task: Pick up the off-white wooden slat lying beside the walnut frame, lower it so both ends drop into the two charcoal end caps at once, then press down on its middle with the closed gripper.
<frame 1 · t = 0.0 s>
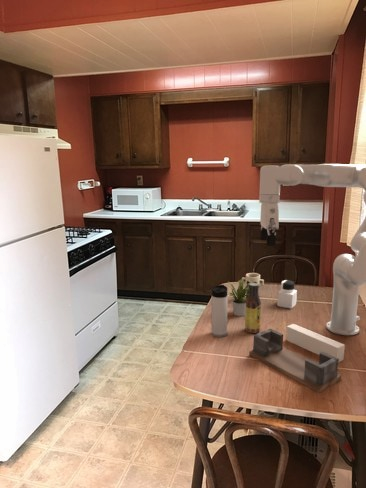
hand: (267, 242, 153), 37 cm above the table, tool pointing down, fingers open, 9 cm apart
sauce bottle: (252, 330, 162), on the table
end cap frame: (292, 366, 135), on the table
character mug: (252, 300, 196), on the table
house plant: (242, 315, 178), on the table
medicine bottle: (286, 305, 189), on the table
travel mug: (219, 334, 160), on the table
slat: (313, 349, 146), on the table
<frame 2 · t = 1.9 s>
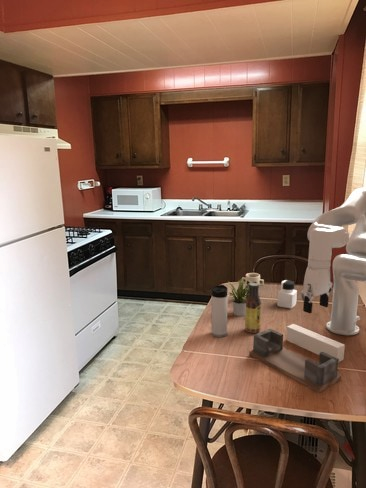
hand: (315, 309, 142), 16 cm above the table, tool pointing down, fingers open, 9 cm apart
nothing on the table moved.
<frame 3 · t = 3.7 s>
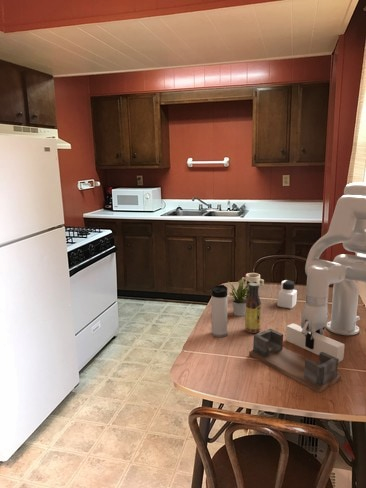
hand: (313, 345, 146), 2 cm above the table, tool pointing down, fingers closed on slat, 4 cm apart
slat: (313, 349, 146), on the table, touching gripper
everything else where it was.
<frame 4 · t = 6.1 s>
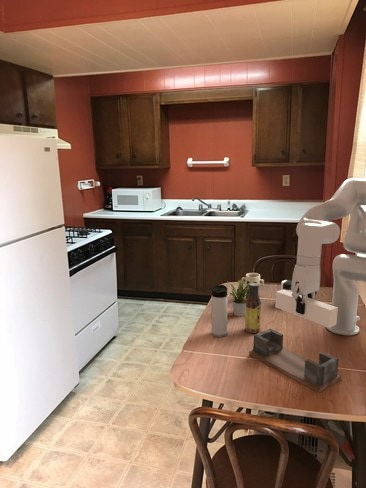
hand: (304, 311, 135), 18 cm above the table, tool pointing down, fingers closed on slat, 4 cm apart
slat: (304, 315, 136), point 16 cm above the table, touching gripper
everything else where it was.
when the fingers open (6 cm above the table, at t = 8.6 s): slat stays where it is, resting on end cap frame.
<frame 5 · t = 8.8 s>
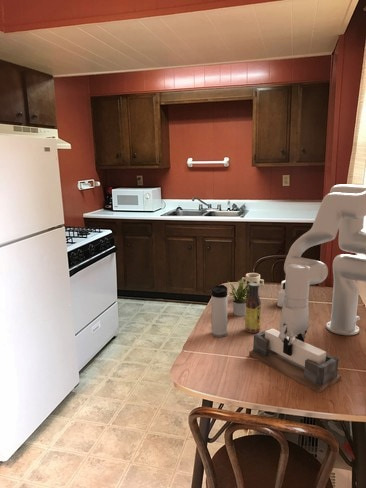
hand: (293, 350, 133), 6 cm above the table, tool pointing down, fingers open, 5 cm apart
slat: (293, 357, 134), point 3 cm above the table, touching end cap frame
everything else where it was.
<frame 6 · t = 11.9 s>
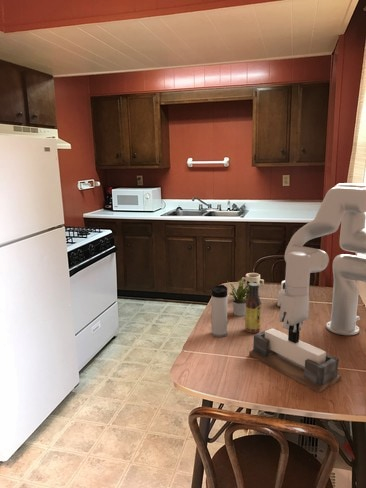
hand: (293, 341, 132), 10 cm above the table, tool pointing down, fingers closed
slat: (293, 357, 134), point 4 cm above the table, touching end cap frame, gripper
everything else where it was.
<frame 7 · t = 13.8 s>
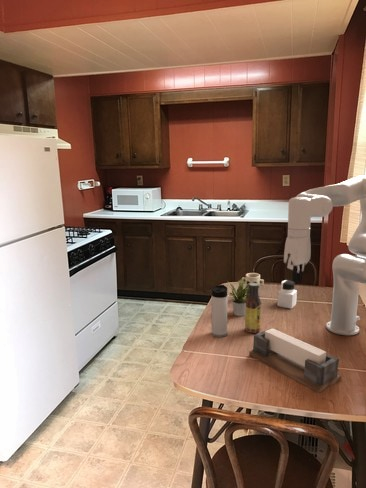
hand: (297, 281, 143), 26 cm above the table, tool pointing down, fingers closed
slat: (293, 357, 134), point 3 cm above the table, touching end cap frame
everything else where it was.
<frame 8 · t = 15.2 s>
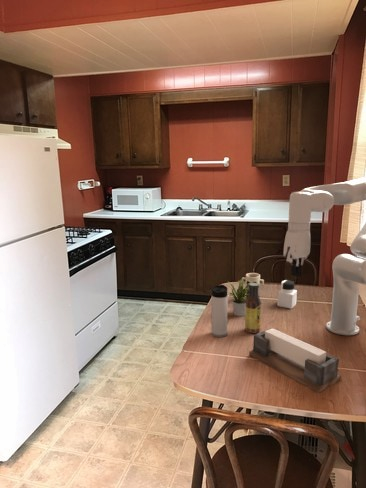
hand: (296, 275, 145), 27 cm above the table, tool pointing down, fingers closed
nothing on the table moved.
at the end: slat 0.1 cm off-centre on the end cap frame, point 3.5 cm above the end cap frame's base; slat tilted 0°; the gripper is holding nothing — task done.
